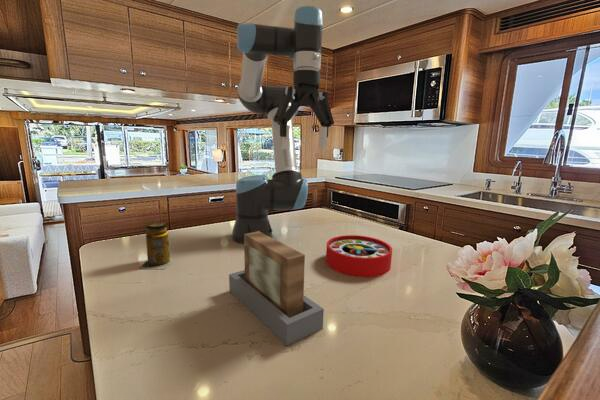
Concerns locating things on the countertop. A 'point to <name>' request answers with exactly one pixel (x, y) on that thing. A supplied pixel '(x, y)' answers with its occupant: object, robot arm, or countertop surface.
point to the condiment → (157, 246)
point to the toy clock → (358, 255)
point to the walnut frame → (275, 272)
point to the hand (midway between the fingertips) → (304, 149)
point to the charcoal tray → (277, 312)
